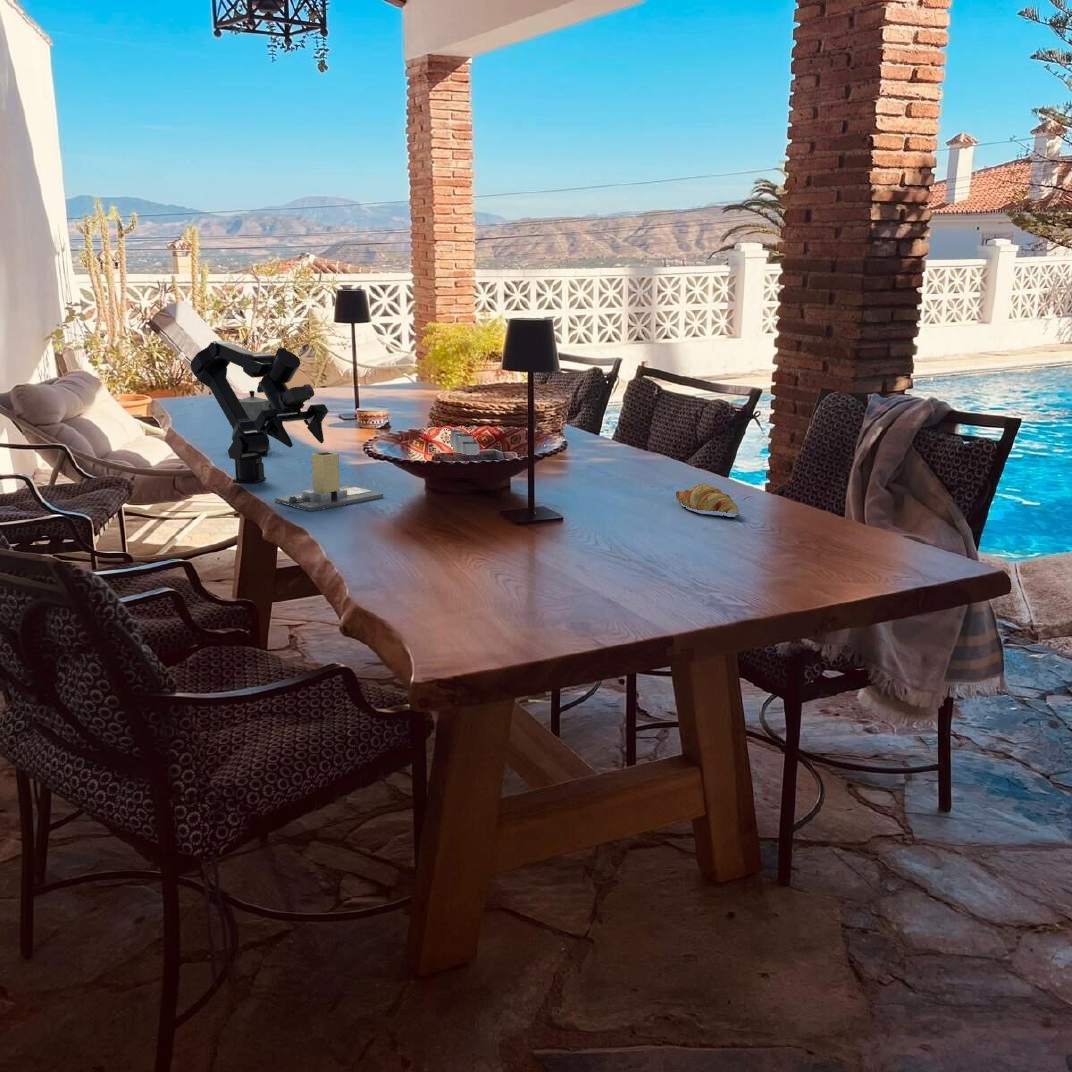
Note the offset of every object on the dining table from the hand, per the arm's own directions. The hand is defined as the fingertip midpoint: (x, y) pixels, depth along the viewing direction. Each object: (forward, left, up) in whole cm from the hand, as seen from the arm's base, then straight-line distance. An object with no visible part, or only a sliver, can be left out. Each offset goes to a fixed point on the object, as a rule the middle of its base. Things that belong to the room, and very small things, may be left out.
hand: (307, 444), depth 254 cm
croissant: (+96, +19, -13) cm, 98 cm away
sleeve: (+6, -3, -10) cm, 13 cm away
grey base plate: (+6, -3, -13) cm, 15 cm away
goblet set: (+26, +33, -13) cm, 44 cm away
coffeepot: (-50, +54, -13) cm, 75 cm away
